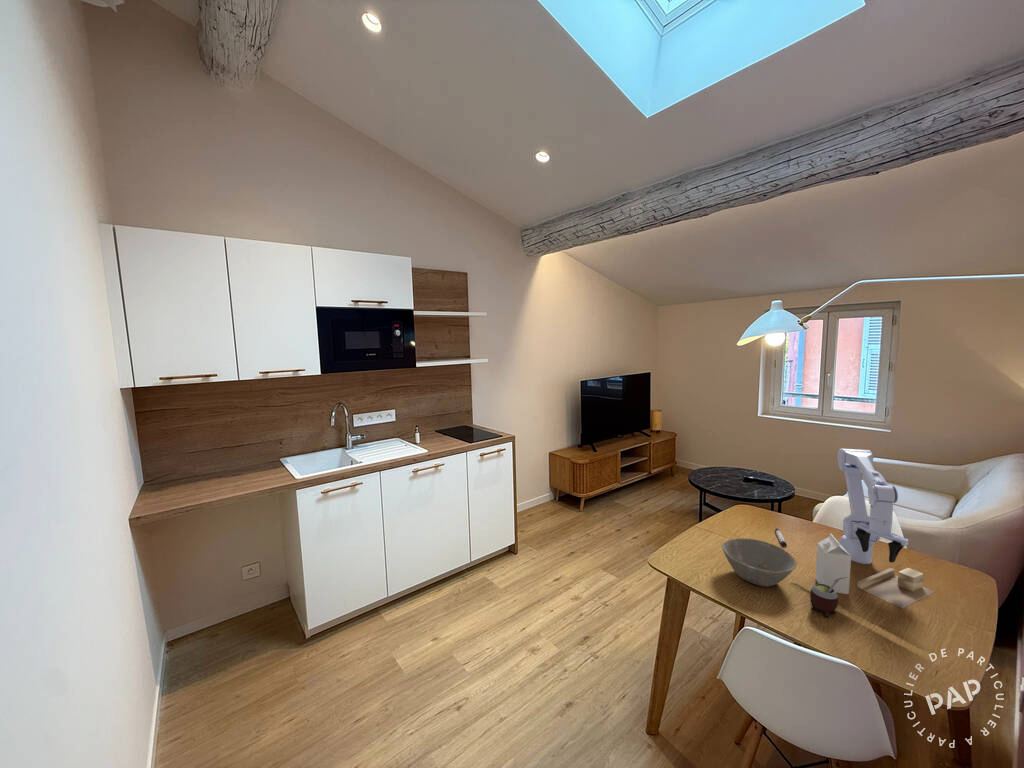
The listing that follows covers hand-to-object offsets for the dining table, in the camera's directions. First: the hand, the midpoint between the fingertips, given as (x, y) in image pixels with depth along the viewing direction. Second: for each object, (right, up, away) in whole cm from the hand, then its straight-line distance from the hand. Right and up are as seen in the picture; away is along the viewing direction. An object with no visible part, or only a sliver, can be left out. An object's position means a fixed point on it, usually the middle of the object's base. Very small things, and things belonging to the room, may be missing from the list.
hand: (878, 556), depth 140 cm
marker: (-11, -8, +35) cm, 37 cm away
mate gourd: (-28, -13, -12) cm, 33 cm away
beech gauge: (+8, -9, -3) cm, 13 cm away
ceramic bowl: (-39, -11, +6) cm, 41 cm away
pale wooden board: (+2, -11, -4) cm, 12 cm away
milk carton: (-18, -11, -1) cm, 21 cm away
